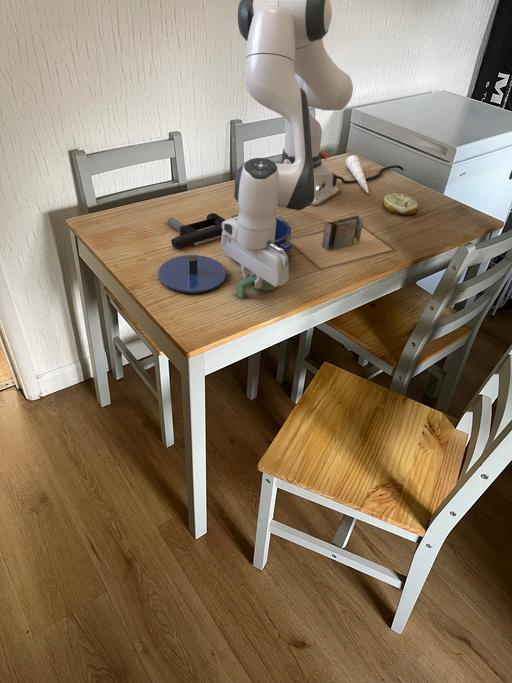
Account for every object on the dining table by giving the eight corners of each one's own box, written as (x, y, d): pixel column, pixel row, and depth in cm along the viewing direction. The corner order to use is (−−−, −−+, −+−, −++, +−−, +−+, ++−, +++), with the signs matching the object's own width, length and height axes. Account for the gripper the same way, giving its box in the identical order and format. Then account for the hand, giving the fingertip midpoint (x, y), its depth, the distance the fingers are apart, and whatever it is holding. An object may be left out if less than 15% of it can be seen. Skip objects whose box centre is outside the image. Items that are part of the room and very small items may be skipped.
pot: (254, 230, 156) (256, 205, 151) (307, 261, 145) (311, 235, 140) (212, 246, 148) (212, 220, 142) (264, 281, 136) (266, 253, 131)
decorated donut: (405, 220, 168) (408, 209, 165) (376, 208, 173) (378, 197, 171) (421, 210, 174) (424, 199, 172) (393, 199, 179) (395, 188, 177)
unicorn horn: (357, 194, 180) (359, 180, 177) (344, 167, 199) (346, 154, 196) (370, 194, 181) (373, 181, 178) (357, 167, 199) (359, 154, 196)
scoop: (265, 277, 137) (266, 264, 135) (279, 286, 135) (280, 273, 132) (232, 292, 131) (233, 278, 129) (246, 301, 129) (247, 288, 126)
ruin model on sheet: (321, 268, 143) (326, 235, 136) (288, 240, 153) (292, 208, 147) (392, 249, 153) (400, 218, 147) (357, 224, 164) (363, 194, 157)
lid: (198, 252, 145) (198, 235, 142) (239, 279, 136) (240, 262, 132) (145, 272, 136) (144, 254, 132) (185, 303, 127) (185, 285, 123)
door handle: (149, 220, 152) (178, 242, 142) (209, 205, 162) (239, 224, 151) (150, 231, 154) (178, 253, 144) (209, 215, 164) (239, 235, 153)
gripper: (298, 247, 118) (291, 299, 127) (237, 212, 129) (235, 262, 138) (277, 256, 115) (272, 308, 124) (217, 219, 126) (216, 270, 135)
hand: (252, 283), depth 131 cm, fingers closed on scoop, 2 cm apart
